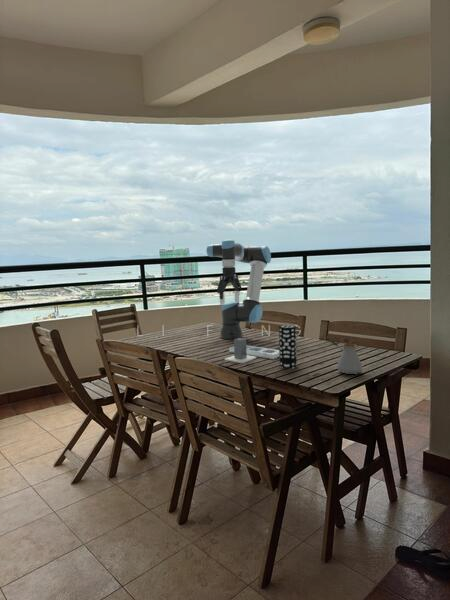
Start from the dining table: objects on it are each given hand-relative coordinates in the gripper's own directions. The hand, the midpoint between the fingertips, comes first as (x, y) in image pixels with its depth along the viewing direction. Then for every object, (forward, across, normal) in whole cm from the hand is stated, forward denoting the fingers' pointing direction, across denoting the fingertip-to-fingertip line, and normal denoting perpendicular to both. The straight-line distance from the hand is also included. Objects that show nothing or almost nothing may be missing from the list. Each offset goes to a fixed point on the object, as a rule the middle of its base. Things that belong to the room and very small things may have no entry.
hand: (229, 303), depth 244 cm
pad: (+27, -17, -20) cm, 37 cm away
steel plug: (+26, -17, -20) cm, 37 cm away
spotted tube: (+27, -15, -48) cm, 57 cm away
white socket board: (+27, -3, -20) cm, 33 cm away
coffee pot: (+27, -7, -72) cm, 77 cm away
